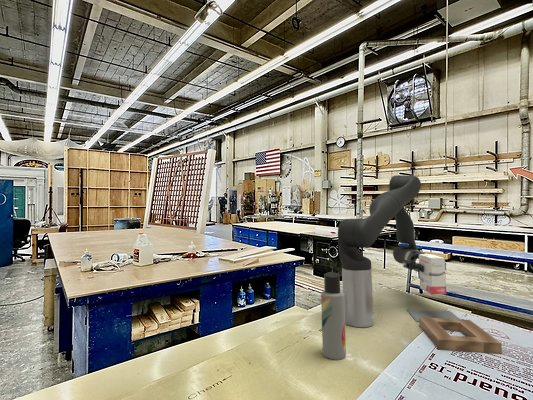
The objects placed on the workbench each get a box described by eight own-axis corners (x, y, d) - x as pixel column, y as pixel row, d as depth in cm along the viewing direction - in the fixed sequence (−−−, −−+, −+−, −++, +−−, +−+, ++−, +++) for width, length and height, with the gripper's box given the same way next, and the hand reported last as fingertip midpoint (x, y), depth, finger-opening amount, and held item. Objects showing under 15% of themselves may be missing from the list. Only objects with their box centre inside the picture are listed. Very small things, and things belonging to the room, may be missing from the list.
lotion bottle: (347, 350, 73) (344, 271, 74) (345, 361, 68) (342, 276, 69) (324, 347, 75) (322, 270, 76) (321, 358, 70) (318, 274, 71)
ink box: (448, 294, 92) (445, 257, 93) (432, 295, 92) (429, 257, 93) (434, 287, 101) (431, 253, 101) (419, 287, 101) (416, 253, 101)
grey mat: (416, 322, 92) (416, 320, 92) (406, 309, 103) (406, 308, 103) (465, 324, 89) (465, 323, 89) (449, 311, 100) (449, 310, 100)
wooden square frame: (438, 349, 73) (438, 339, 73) (419, 325, 89) (418, 317, 89) (502, 353, 70) (501, 343, 70) (470, 328, 86) (469, 319, 86)
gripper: (397, 250, 114) (408, 257, 97) (436, 250, 111) (455, 257, 94) (397, 269, 114) (409, 279, 97) (437, 270, 111) (457, 280, 94)
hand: (432, 269), depth 96 cm, fingers closed on ink box, 5 cm apart
